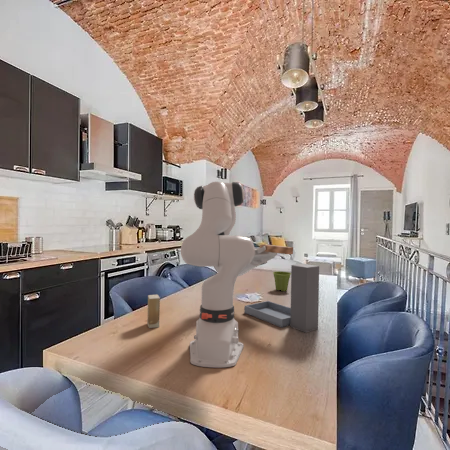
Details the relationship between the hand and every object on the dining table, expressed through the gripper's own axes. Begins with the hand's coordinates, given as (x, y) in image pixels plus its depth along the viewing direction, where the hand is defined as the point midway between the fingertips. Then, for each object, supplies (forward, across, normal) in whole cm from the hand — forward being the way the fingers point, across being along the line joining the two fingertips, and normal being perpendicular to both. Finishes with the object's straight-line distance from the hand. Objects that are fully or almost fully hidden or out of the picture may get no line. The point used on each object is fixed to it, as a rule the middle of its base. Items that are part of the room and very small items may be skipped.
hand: (269, 247), depth 139 cm
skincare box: (-30, -51, +20) cm, 62 cm away
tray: (-12, 0, +30) cm, 32 cm away
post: (+2, 0, +38) cm, 38 cm away
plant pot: (-43, +44, +13) cm, 62 cm away
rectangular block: (+3, 0, +4) cm, 5 cm away
